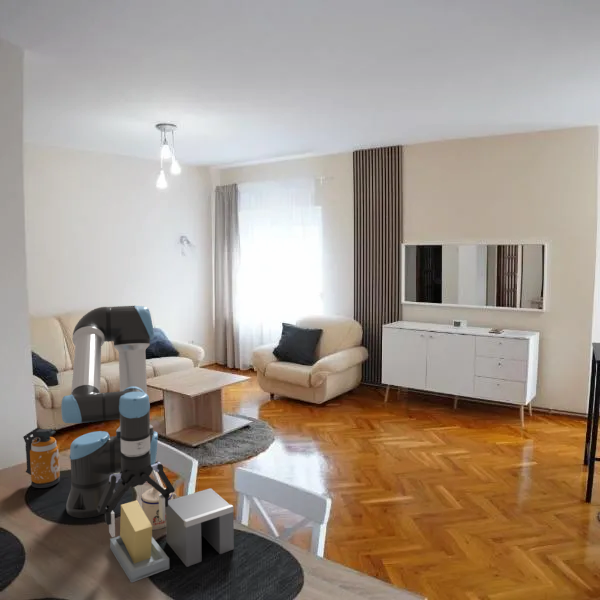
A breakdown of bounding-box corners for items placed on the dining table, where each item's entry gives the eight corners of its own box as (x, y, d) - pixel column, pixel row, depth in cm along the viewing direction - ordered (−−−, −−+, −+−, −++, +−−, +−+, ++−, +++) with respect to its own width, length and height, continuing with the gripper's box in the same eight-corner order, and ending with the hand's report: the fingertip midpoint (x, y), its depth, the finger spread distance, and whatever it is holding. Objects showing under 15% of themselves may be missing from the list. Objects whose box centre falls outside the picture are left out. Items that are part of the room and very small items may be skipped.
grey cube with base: (166, 542, 150) (165, 500, 148) (211, 526, 158) (210, 486, 156) (186, 566, 138) (185, 521, 137) (233, 549, 147) (233, 506, 145)
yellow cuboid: (120, 535, 148) (120, 504, 145) (135, 530, 150) (137, 500, 148) (134, 563, 138) (135, 531, 136) (150, 557, 141) (152, 526, 138)
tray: (110, 548, 146) (110, 538, 146) (145, 536, 152) (145, 527, 152) (131, 582, 132) (131, 572, 132) (169, 568, 138) (169, 558, 137)
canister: (52, 490, 180) (49, 433, 178) (20, 489, 180) (17, 433, 178) (64, 478, 189) (62, 424, 187) (33, 477, 189) (31, 424, 187)
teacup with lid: (154, 534, 154) (153, 496, 152) (135, 524, 159) (134, 487, 158) (186, 517, 163) (185, 481, 162) (167, 508, 169) (166, 473, 167)
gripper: (90, 468, 128) (93, 548, 131) (185, 445, 143) (186, 518, 146) (82, 457, 134) (85, 534, 137) (175, 436, 149) (176, 506, 152)
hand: (137, 526), depth 142 cm, fingers open, 13 cm apart
